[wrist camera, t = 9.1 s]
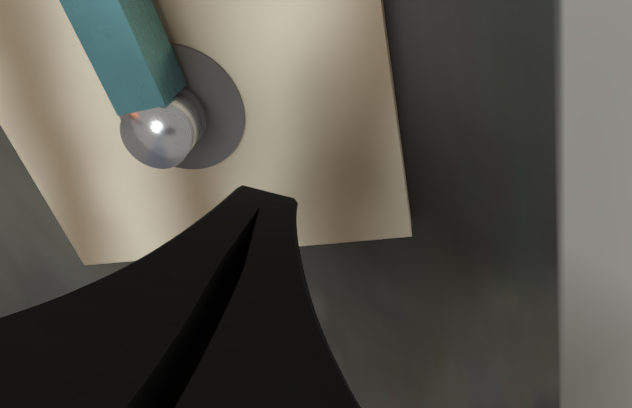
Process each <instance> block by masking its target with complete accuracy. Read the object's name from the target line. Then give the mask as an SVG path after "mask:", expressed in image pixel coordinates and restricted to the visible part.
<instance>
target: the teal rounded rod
mask: <svg viewBox="0 0 632 408" xmlns="http://www.w3.org/2000/svg"><path fill="white" fill-rule="evenodd" d="M59 1H60V3H61V5H62V7H63V9H64V11H65V13H66V15H67V17H68V19H69V21H70V23H71V25H72V27H73V29H74V31H75V33H76V35H77V37H78V38H79V40H80V42H81V44H82V46H83V48H84V50H85V52H86V54H87V56H88V58H89V60H90V62H91V64H92V66H93V68H94V70H95V72H96V74H97V76H98V78H99V80H100V82H101V84H102V86H103V88H104V90H105V92H106V94H107V96H108V98H109V100H110V102H111V104H112V106H113V108H114V110H115V112H116V113H117V115H118V116H120V115H123V117H122V119H121V123H120V135H121V139H122V141H123V144H124V145H125V147H126V149H127V150H128V151H129V153H130V154H131V155H132V156H133V157H134V158H135V159H137V160H138V161H140V162H141V163H143V164H145V165H147V166H150V167H153V168H158V169H168V168H172V167H175V166H177V165H178V164H180V163H181V162H182V161H183V160H184V159H185V157H186V156H187V155H188V153H189V152H190V151H191V149H192V148H193V147H194V145H195V144H196V143H197V141H198V140H199V139H200V138H201V136H202V135H203V133H204V131H205V128H206V114H205V111H204V109H203V106H202V105H201V103H200V102H199V100H198V99H197V98H196V97H195V96H194V95H193V94H192V93H191V92H189V91H188V90H186V89H184V87H185V86H186V85H187V83H186V81H185V78H184V76H183V74H182V71H181V69H180V66H179V64H178V61H177V59H176V57H175V54H174V52H173V49H172V47H171V44H170V42H169V40H168V37H167V35H166V32H165V30H164V28H163V25H162V23H161V20H160V18H159V15H158V13H157V11H156V8H155V6H154V3H153V1H152V0H59Z"/></svg>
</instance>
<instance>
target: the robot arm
mask: <svg viewBox="0 0 632 408" xmlns="http://www.w3.org/2000/svg"><path fill="white" fill-rule="evenodd" d="M297 207H298V203H297V201H296V200H295V198H291V197H287V196H283V195H279V194H275V193H271V192H267V191H263V190H260V189H256V188H252V187H248V186H244V185H242V186H240V187H238V188H236V189H235V190H234V191H233V192H232V193H231V194H230V195H229V196H227V197H226V198H225V199H224V200H223V201H222V202H220V203H219V204H218V205H217V206H216V207H214V208H213V209H212V210H211V211H209V212H208V213H207V214H206V215H204V216H203V217H202V218H200V219H199V220H198V221H196V222H195V223H194V224H192V225H191V226H190V227H188V228H187V229H186V230H184V231H183V232H181V233H180V234H178V235H177V236H175V237H174V238H172V239H171V240H169V241H168V242H166V243H165V244H163V245H162V246H160V247H158V248H157V249H155V250H154V251H152V252H150V253H149V254H147V255H145V256H144V257H142V258H140V259H138V260H137V261H135V262H133V263H131V264H129V265H128V266H126V267H124V268H122V269H120V270H118V271H116V272H114V273H112V274H110V275H108V276H106V277H104V278H102V279H100V280H98V281H95V282H93V283H91V284H89V285H86V286H84V287H82V288H80V289H77V290H75V291H73V292H70V293H68V294H66V295H63V296H61V297H58V298H56V299H53V300H50V301H48V302H45V303H42V304H40V305H37V306H34V307H31V308H28V309H25V310H23V311H20V312H17V313H14V314H11V315H8V316H5V317H2V318H0V408H360V406H359V404H358V402H357V401H356V399H355V397H354V395H353V394H352V392H351V390H350V388H349V386H348V384H347V382H346V380H345V378H344V376H343V374H342V372H341V370H340V368H339V366H338V364H337V362H336V360H335V358H334V356H333V354H332V352H331V350H330V348H329V345H328V343H327V340H326V338H325V336H324V333H323V331H322V328H321V326H320V323H319V320H318V318H317V315H316V312H315V309H314V306H313V303H312V300H311V297H310V293H309V290H308V286H307V282H306V279H305V275H304V270H303V266H302V261H301V255H300V249H299V244H298V236H297V220H296V217H297Z"/></svg>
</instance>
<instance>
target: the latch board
mask: <svg viewBox="0 0 632 408" xmlns="http://www.w3.org/2000/svg"><path fill="white" fill-rule="evenodd" d="M152 1H153V3H154V6H155V8H156V11H157V13H158V15H159V18H160V20H161V23H162V25H163V28H164V30H165V32H166V35H167V37H168V40H169V42H170V44H171V47H172V49H173V52H174V54H175V57H176V59H177V61H178V64H179V66H180V69H181V71H182V74H183V76H184V78H185V81H186V83H187V85H186V86H185V87H184V89H186V90H188V91H189V92H191V93H192V94H193V95H194V96H195V97H196V98H197V99H198V100H199V102H200V103H201V105H202V106H203V109H204V111H205V114H206V128H205V131H204V133H203V135H202V136H201V138H200V139H199V140H198V141H197V143H196V144H195V145H194V147H193V148H192V149H191V151H190V152H189V153H188V155H187V156H186V157H185V159H184V160H183V161H182V162H181V163H180V164H178V165H177V166H175V167H172V168H168V169H158V168H153V167H150V166H147V165H145V164H143V163H141V162H140V161H138V160H137V159H135V158H134V157H133V156H132V155H131V154H130V153H129V151H128V150H127V149H126V147H125V145H124V144H123V141H122V139H121V135H120V123H121V119H122V117H123V115H120V116H118V115H117V113H116V112H115V110H114V108H113V106H112V104H111V102H110V100H109V98H108V96H107V94H106V92H105V90H104V88H103V86H102V84H101V82H100V80H99V78H98V76H97V74H96V72H95V70H94V68H93V66H92V64H91V62H90V60H89V58H88V56H87V54H86V52H85V50H84V48H83V46H82V44H81V42H80V40H79V38H78V37H77V35H76V33H75V31H74V29H73V27H72V25H71V23H70V21H69V19H68V17H67V15H66V13H65V11H64V9H63V7H62V5H61V3H60V1H59V0H0V125H1V127H2V128H3V130H4V132H5V133H6V135H7V137H8V138H9V140H10V142H11V143H12V145H13V147H14V148H15V150H16V152H17V153H18V155H19V157H20V158H21V160H22V162H23V163H24V165H25V167H26V168H27V170H28V172H29V173H30V175H31V177H32V179H33V180H34V182H35V184H36V185H37V187H38V189H39V190H40V192H41V194H42V195H43V197H44V199H45V200H46V202H47V204H48V205H49V207H50V209H51V210H52V212H53V214H54V215H55V217H56V219H57V220H58V222H59V224H60V225H61V227H62V229H63V230H64V232H65V234H66V235H67V237H68V239H69V240H70V242H71V244H72V245H73V247H74V249H75V250H76V252H77V254H78V255H79V257H80V259H81V260H82V262H83V264H84V265H94V264H105V263H116V262H128V261H137V260H138V259H140V258H142V257H144V256H145V255H147V254H149V253H150V252H152V251H154V250H155V249H157V248H158V247H160V246H162V245H163V244H165V243H166V242H168V241H169V240H171V239H172V238H174V237H175V236H177V235H178V234H180V233H181V232H183V231H184V230H186V229H187V228H188V227H190V226H191V225H192V224H194V223H195V222H196V221H198V220H199V219H200V218H202V217H203V216H204V215H206V214H207V213H208V212H209V211H211V210H212V209H213V208H214V207H216V206H217V205H218V204H219V203H220V202H222V201H223V200H224V199H225V198H226V197H227V196H229V195H230V194H231V193H232V192H233V191H234V190H235V189H236V188H238V187H240V186H242V185H244V186H248V187H252V188H256V189H260V190H263V191H267V192H271V193H275V194H279V195H283V196H287V197H291V198H295V200H296V201H297V203H298V207H297V217H296V220H297V236H298V244H299V246H310V245H321V244H332V243H344V242H355V241H367V240H378V239H389V238H401V237H412V228H411V213H410V206H409V198H408V190H407V183H406V175H405V167H404V160H403V152H402V144H401V137H400V129H399V121H398V114H397V106H396V98H395V91H394V83H393V75H392V68H391V60H390V52H389V44H388V37H387V29H386V21H385V14H384V6H383V0H152Z"/></svg>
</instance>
